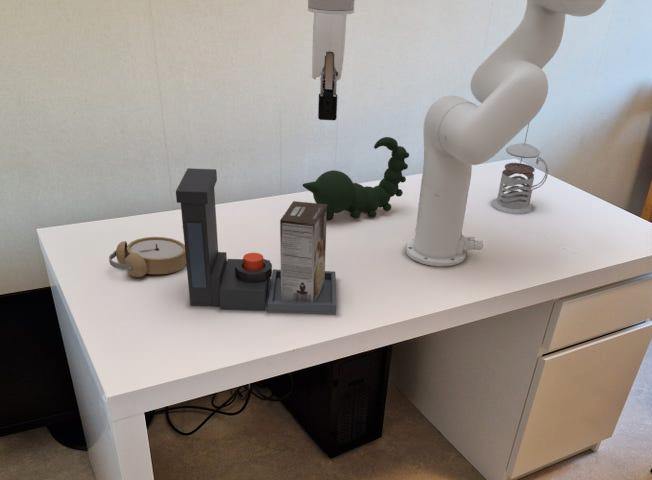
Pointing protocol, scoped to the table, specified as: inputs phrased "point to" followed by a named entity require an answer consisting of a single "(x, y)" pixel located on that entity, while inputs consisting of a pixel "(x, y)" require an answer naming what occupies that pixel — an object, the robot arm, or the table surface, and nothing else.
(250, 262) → the brew button
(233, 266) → the button base
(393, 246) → the table surface
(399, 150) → the toy figurine
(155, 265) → the alarm clock
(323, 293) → the pan
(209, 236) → the coffee machine tank
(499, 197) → the french press
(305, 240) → the coffee box
